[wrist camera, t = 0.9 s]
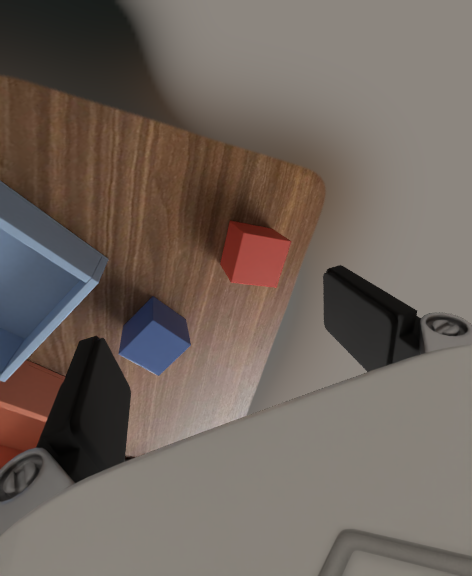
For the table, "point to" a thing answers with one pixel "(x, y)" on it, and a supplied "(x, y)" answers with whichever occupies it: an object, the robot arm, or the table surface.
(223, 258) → the red block
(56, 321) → the blue bin
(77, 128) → the table surface
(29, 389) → the red bin
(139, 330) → the blue block
